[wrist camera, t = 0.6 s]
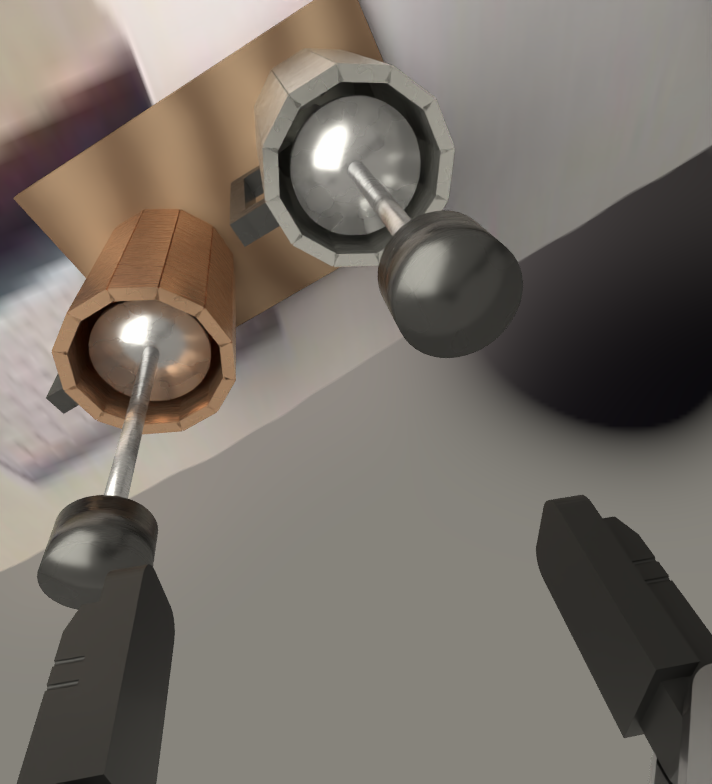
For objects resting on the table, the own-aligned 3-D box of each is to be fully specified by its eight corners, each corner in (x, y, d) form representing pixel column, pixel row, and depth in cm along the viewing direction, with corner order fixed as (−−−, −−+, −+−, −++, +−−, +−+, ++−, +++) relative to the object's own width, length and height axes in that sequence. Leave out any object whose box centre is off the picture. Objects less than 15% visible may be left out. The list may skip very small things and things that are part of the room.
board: (345, -21, 35) (348, -22, 34) (439, 202, 44) (444, 206, 43) (19, 193, 38) (13, 198, 37) (168, 359, 47) (167, 367, 46)
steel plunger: (383, 66, 26) (537, 118, 13) (436, 191, 30) (597, 332, 16) (263, 141, 27) (292, 262, 14) (329, 253, 31) (402, 434, 17)
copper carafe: (183, 184, 39) (162, 254, 27) (257, 289, 44) (265, 384, 33) (49, 268, 40) (-24, 368, 29) (136, 360, 46) (104, 475, 34)
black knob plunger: (162, 274, 30) (104, 477, 17) (233, 361, 34) (232, 584, 20) (64, 333, 31) (-64, 571, 18) (144, 412, 35) (88, 657, 21)
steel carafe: (350, 18, 35) (406, 19, 24) (409, 154, 40) (478, 209, 29) (195, 117, 37) (178, 163, 25) (272, 236, 42) (286, 319, 30)
